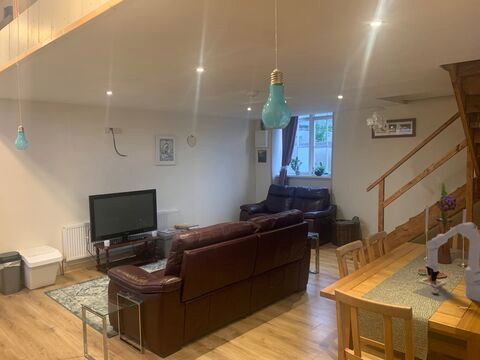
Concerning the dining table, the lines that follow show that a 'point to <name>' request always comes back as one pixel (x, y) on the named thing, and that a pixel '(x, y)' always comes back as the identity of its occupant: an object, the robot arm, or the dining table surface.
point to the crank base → (439, 297)
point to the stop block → (430, 279)
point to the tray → (433, 284)
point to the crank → (433, 289)
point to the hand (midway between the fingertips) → (432, 279)
